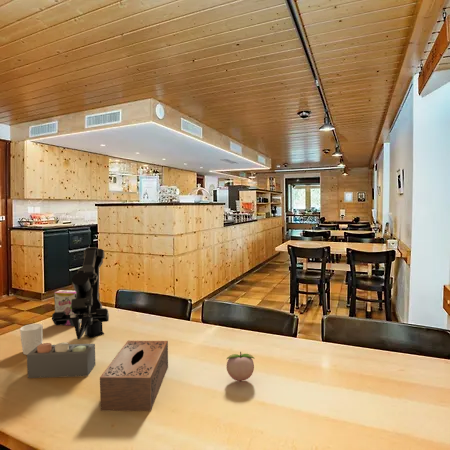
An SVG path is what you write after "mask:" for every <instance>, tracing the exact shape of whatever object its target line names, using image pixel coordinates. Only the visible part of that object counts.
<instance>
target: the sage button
mask: <svg viewBox="0 0 450 450" xmlns="http://www.w3.org/2000/svg"><path fill="white" fill-rule="evenodd" d="M85 350H86V346H77V347H75V348H73V352H84V351H85Z"/></svg>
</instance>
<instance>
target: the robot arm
mask: <svg viewBox="0 0 450 450" xmlns="http://www.w3.org/2000/svg"><path fill="white" fill-rule="evenodd" d="M105 257H106V256H105V251H104V249H102V248H99V247H96V246H95V247H94V246H93V247H89V246H88V247H86V248H85V249H84V250H83V263H82V266H81V267H79V268H78V270H77V272H76V273H75V274H74V275H73V276H72V277H71V282H72V286H73V290H74V291H76V299H72V302H71V309H72V312H74V313H73V314H70V315H66V313H65V311H61V312H55V311H54V313H52V315H51V320H52V322H53V325H54V326H66V325H65V324H66V323H67V320H69V322H70V324H71V327H74V330H75V334H76V338H77V339H76V340H81V338H82V337H83V335H85V336H87V337H88V338H89V339H92V338H96V337H99V336H104V335H105V332H104V331H103V323H105V322H109V320H110V319H109V318H110V314H109V309H107V307H106V308H103V304H102V302H101V301H100V300H99V298H100V297H99V295H100V292H99V291H100V289H99V288H100V269H101V266H102V265H103V262H104V259H105ZM79 319H81V323H79Z"/></svg>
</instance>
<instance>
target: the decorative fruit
mask: <svg viewBox="0 0 450 450" xmlns="http://www.w3.org/2000/svg"><path fill="white" fill-rule="evenodd" d="M254 360H255V357H254V356H253V355H251V354H250V353H242V351H240V354H237V353H233V354H229V355H228V356H227V357H226V371H227V373H228V375H229V377H231V379H232V380H235V381H237V382H242V381H246V380H248V379H250V378H251V376H253V374H254V370H255V363H254Z"/></svg>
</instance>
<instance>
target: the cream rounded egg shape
mask: <svg viewBox="0 0 450 450" xmlns="http://www.w3.org/2000/svg"><path fill="white" fill-rule="evenodd" d="M69 344H70V343H69V342H66V341H65V342H59V343H56V344H54V345H55V352H67V351H68V350H69Z"/></svg>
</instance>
